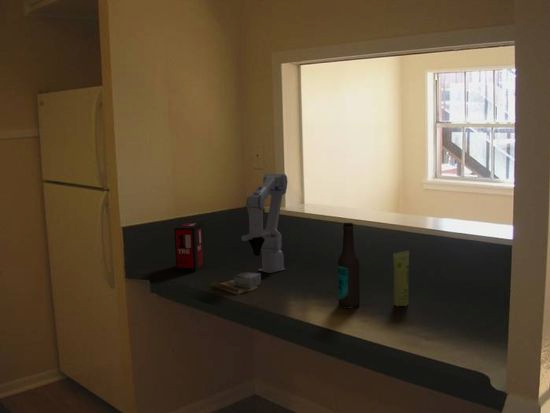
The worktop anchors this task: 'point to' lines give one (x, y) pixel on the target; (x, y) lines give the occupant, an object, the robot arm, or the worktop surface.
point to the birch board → (232, 287)
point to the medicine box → (247, 280)
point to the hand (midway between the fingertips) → (257, 255)
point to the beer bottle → (348, 271)
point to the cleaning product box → (189, 246)
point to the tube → (401, 278)
